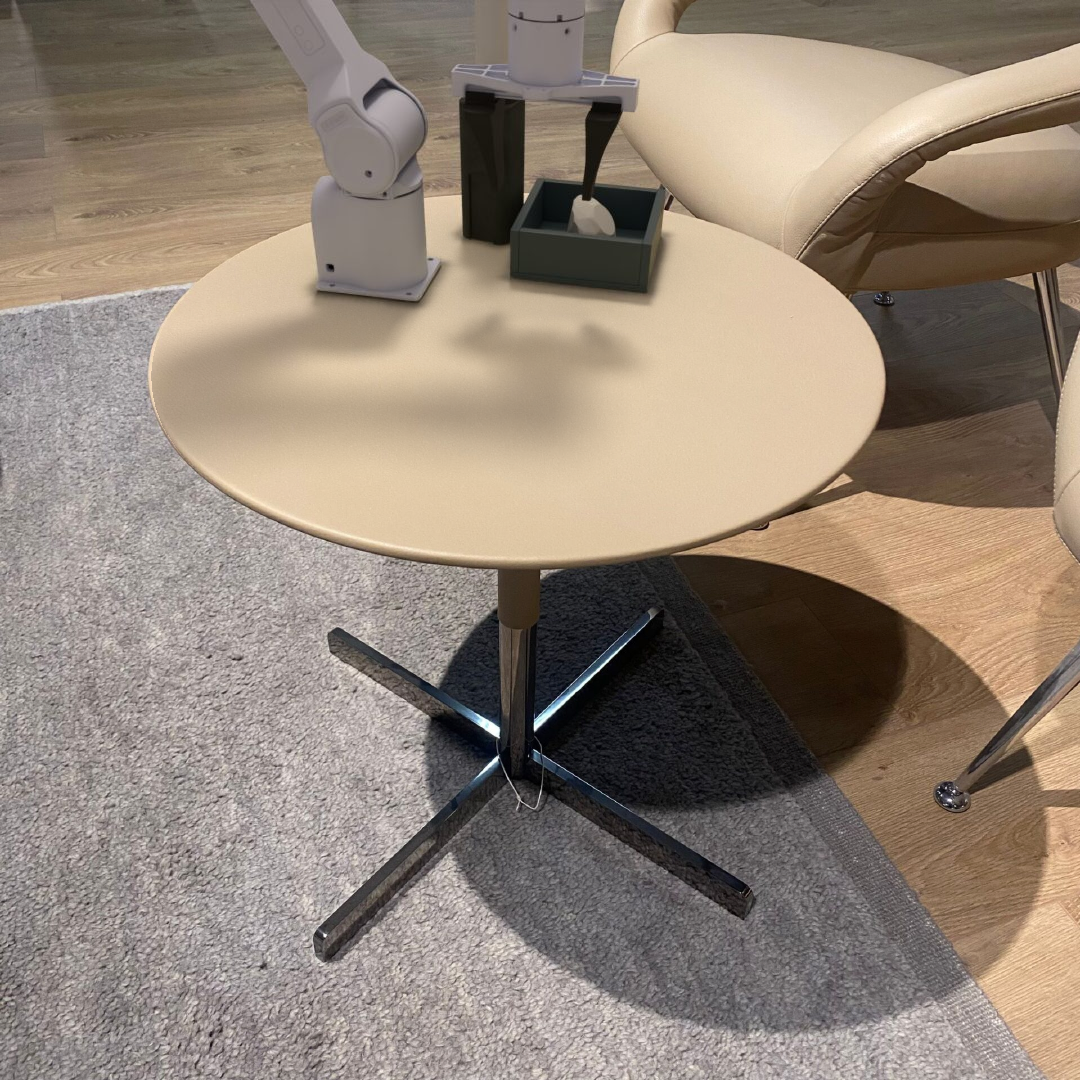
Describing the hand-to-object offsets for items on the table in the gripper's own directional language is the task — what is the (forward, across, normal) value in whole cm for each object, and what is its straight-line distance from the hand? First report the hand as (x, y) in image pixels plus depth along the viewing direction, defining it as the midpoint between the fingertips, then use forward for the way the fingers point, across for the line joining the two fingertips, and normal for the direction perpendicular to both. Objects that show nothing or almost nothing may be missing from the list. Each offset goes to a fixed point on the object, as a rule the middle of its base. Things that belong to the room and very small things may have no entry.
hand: (542, 192), depth 85 cm
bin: (+9, +3, +9) cm, 13 cm away
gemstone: (+9, +3, +9) cm, 13 cm away
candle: (+10, -7, +12) cm, 17 cm away
